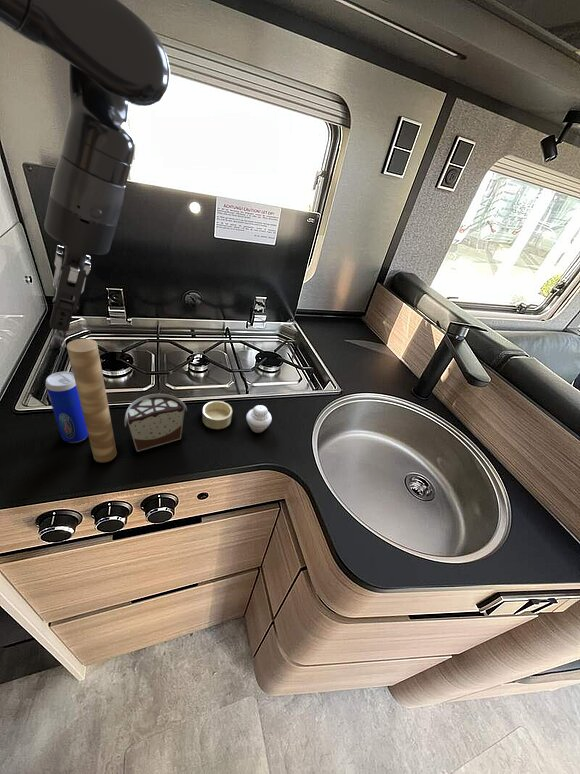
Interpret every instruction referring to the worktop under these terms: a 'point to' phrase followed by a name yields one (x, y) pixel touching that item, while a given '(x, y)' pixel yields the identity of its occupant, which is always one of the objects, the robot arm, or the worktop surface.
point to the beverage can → (66, 406)
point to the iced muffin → (155, 420)
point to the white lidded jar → (258, 418)
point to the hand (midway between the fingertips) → (60, 314)
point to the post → (92, 397)
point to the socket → (217, 414)
